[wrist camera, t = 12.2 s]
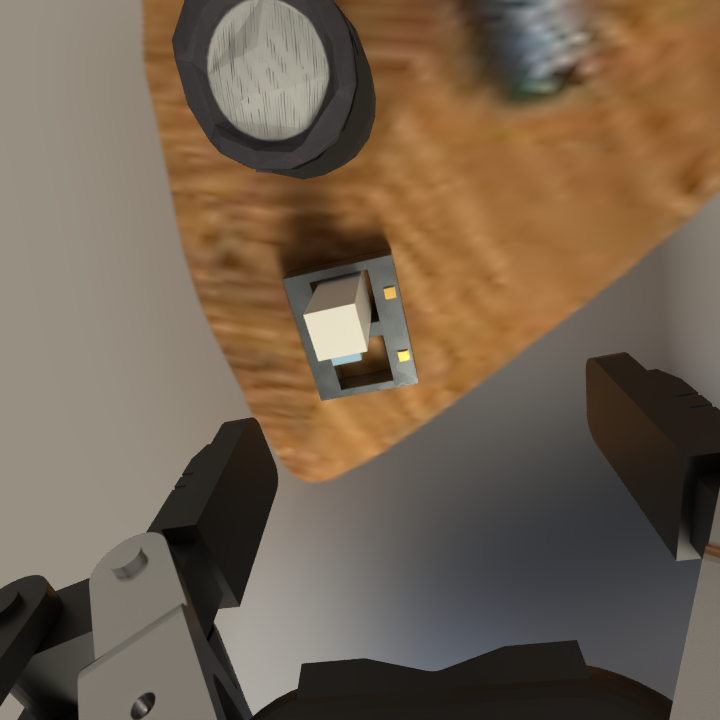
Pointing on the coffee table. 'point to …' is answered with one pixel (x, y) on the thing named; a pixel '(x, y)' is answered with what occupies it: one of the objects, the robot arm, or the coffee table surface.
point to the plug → (340, 318)
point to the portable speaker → (276, 82)
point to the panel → (382, 323)
